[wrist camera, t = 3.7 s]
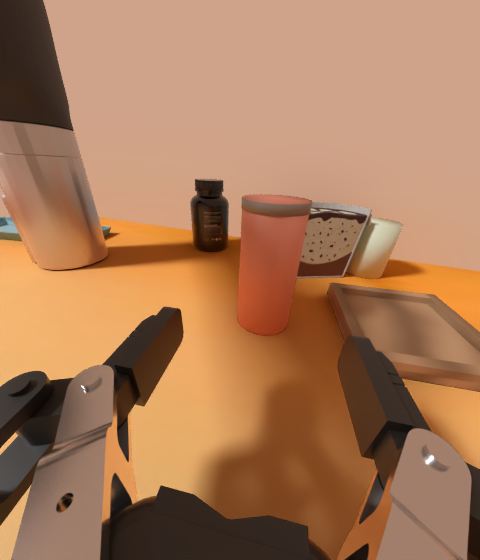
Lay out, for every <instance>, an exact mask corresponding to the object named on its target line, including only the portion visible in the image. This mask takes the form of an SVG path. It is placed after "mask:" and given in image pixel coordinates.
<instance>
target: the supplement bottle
mask: <svg viewBox="0 0 480 560" xmlns="http://www.w3.org/2000/svg"><path fill="white" fill-rule="evenodd" d="M195 191H197V195H196V196H194V197H193V198H192V199H191V215H192V216H191V217H192V232H193V244H194V247H195V248H196V249H198V250H201V251H206V252H215V251H221V250H224V249H225V248H226V247H227V246H228V216H229V215H228V214H229V210H228V209H229V203H228V200H227V199H226V198H225V197H224V196H223V195H222V192H223V180H217V179H195Z"/></svg>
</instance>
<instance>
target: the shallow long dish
mask: <svg viewBox="0 0 480 560" xmlns="http://www.w3.org/2000/svg"><path fill="white" fill-rule="evenodd" d="M101 228H102V232H103V235H104V236H107V235H108V234H109V232H110V229H111V227H106V226H101ZM0 239H5V240H17V241H22V239H21V237H20V235H19V233H18V231H17V229H16V227H15V225H14V223H13V221H12V218H9V217H0Z"/></svg>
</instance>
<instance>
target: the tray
mask: <svg viewBox="0 0 480 560" xmlns="http://www.w3.org/2000/svg"><path fill="white" fill-rule="evenodd" d="M327 294H328V296H329V299H330V302H331V305H332V307H333V310H334V313H335V316H336V318H337V321H338V324H339V327H340V329H341V332H342V335H343V338H344V340H345V341H346V339H347V337H348V336H349V335H353V336H360V337H367V338H369V339H370V340H371V342H372V344H373V346H374V348H375V350H376V351H379V352H382V353H383V354H384V355H385V356H386V357H387V358H388V359H389V360H390V361H391V362H392V363H393V365H394V367H395V368H396V370H397V372H398V374H399V377H401V378H404V379H410V380H416V381H421V382H427V383H433V384H439V385H445V386H450V387H456V388H462V389H468V390H474V391H480V332H479V331H478V330H476V329H475V328H474V327H473V326H472V325H470V324H469V323H468V322H467V321H466V320H464V319H463V318H462V317H461V316H459V315H458V314H457V313H456V312H455V311H453V310H452V309H451V308H450V307H449V306H447V305H446V304H445V303H444V302H443V301H441V300H440V299H439V298H438V297H436V296H435V295H432V294H423V293H415V292H406V291H398V290H389V289H381V288H373V287H364V286H356V285H347V284H339V283H330V285H329V289H328V292H327Z"/></svg>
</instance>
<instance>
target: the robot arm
mask: <svg viewBox="0 0 480 560" xmlns="http://www.w3.org/2000/svg"><path fill="white" fill-rule="evenodd" d="M0 186H1V188H2V190H3V192H4V194H3V195H2V200H3V202H4V204H5V206H6V208H7V210H8V212H9V214H10V216H11V218H12V221H13V223H14V225H15V227H16V229H17V231H18V233H19V235H20V237H21V239H22V241H23V243H24V245H25V247H26V249H27V251H28V253H29V256H30V258H31V260H32V262H37V264H38V266H39V267H41V268H44V269H50V270H62V269H72V268H78V267H83V266H87V265H90V264H93V263H96V262H98V261H101V260H102V259H104V258H105V257H107V256H108V250H107V246H106V242H105V239H104V235H103V232H102V228H101V224H100V221H99V217H98V214H97V211H96V207H95V203H94V200H93V196H92V193H91V189H90V186H89V182H88V179H87V175H86V172H85V168H84V165H83V161H82V158H81V155H80V151H79V148H78V144H77V141H76V137H75V133H74V132H73V127H72V123H71V119H70V113H69V105H68V100H67V96H66V92H65V88H64V84H63V80H62V76H61V72H60V68H59V64H58V60H57V55H56V51H55V47H54V42H53V37H52V33H51V29H50V24H49V21H48V17H47V13H46V9H45V6H44V2H43V0H0ZM182 339H183V324H182V316H181V310H180V309H178V308H171V307H163V308H162V309H161V310H160V311H159V313H158V314H157V315H156V316H155V315H152V316H150V317H148V318H147V319H145V320H144V321H142V322H141V323H140V324H139V325H138V327H137V328H136V329H135V331H133V332H132V333H131V334H130V335H129V337H127V339H126V340H125V341H124V342H123V343H122V344H121V345H120V346H119V347H118V348H117V349H116V351H115V352H114V353H113V354H112V355H111V356H110V357H109V358H108V359H107V360H106V361H105V362H104V363H103V364H102V365H97V366H93V367H90V368H88V369H86V370H84V371H82V372H81V373H79V374H78V375H77V376H76V377H75V378H68V379H59V380H49V378H48V377H47V375H46V374H45V373H44V372H41V371H31V372H27V373H24V374H21V375H19V376H17V377H15V378H13V379H11V380H9V381H8V382H6V383H5V384H3V385H2V386H1V387H0V448H1V447H2V446H3V444H4V443H5V442H6V441H7V440H8V439H9V438H10V437H11V436H12V435H13V434H14V433H15V432H16V433H17V434H18V435H19V436H18V437H17V438H16V439H15V440H14V441H13V442H12V443H11V444H10V445H9V446H8V447H7V449H6V450H5V451H4V452H3V453H2V454H1V455H0V525H1V524H2V523H3V521H4V520H5V519H6V517H7V516H8V515H9V513H10V512H11V511H12V509H13V508H14V507H15V505H16V504H17V503H18V501H19V500H20V499H21V497H22V496H23V495H24V493H25V492H26V491H27V489H28V488H29V487H30V485H31V484H32V485H31V488H30V492H29V496H28V499H27V503H26V507H25V510H24V514H23V518H22V521H21V525H20V529H19V532H18V536H17V540H16V543H15V547H14V551H13V554H12V558H11V560H331V559H330V558H329V557H328V556H327V555H326V553H325V552H324V551H323V550H322V549H320V548H319V547H318V546H317V545H316V544H315V543H314V542H312V541H311V540H309V538H308V526H304V525H301V524H297V523H294V522H290V521H287V520H283V519H279V518H276V517H272V516H260V517H251V518H242V519H233V520H230V519H227V518H225V517H223V516H222V515H221V514H219V513H218V512H217V511H215V510H214V509H213V508H211V507H210V506H209V505H207V504H206V503H205V502H203V501H202V500H201V499H199V498H198V497H197V496H195V495H193V494H190V493H186V492H183V491H179V490H176V489H172V488H168V487H165V486H160V489H159V491H158V494H157V496H152V497H149V498H145V499H142V500H140V501H138V502H137V491H136V482H135V476H134V472H133V465H132V444H131V420H130V411H131V410H132V408H133V406H134V405H135V404H136V405H140V406H145V404H146V403H147V401H148V399H149V397H150V396H151V394H152V392H153V391H154V389H155V387H156V385H157V384H158V382H159V380H160V378H161V377H162V375H163V373H164V372H165V370H166V368H167V366H168V365H169V363H170V361H171V360H172V358H173V356H174V354H175V353H176V351H177V349H178V347H179V346H180V344H181V342H182ZM338 372H339V376H340V380H341V383H342V387H343V391H344V394H345V398H346V401H347V405H348V409H349V412H350V416H351V420H352V423H353V427H354V431H355V434H356V438H357V441H358V445H359V449H360V452H361V456H362V457H366V458H370V459H374V461H375V464H376V467H377V470H376V471H375V473H374V475H373V478H372V481H371V483H370V486H369V488H368V491H367V493H366V496H365V498H364V501H363V504H362V506H361V509H360V511H359V514H358V516H357V519H356V521H355V524H354V526H353V528H352V530H351V532H350V533H349V535H348V537H347V538H346V540H345V542H344V544H343V546H342V548H341V551H340V553H339V555H338V558H337V560H480V469H478V468H476V467H474V466H472V465H470V464H468V463H466V462H465V461H464V460H463V458H462V457H461V456H460V454H459V453H458V452H457V451H456V450H455V449H454V448H453V447H452V446H451V445H450V444H449V443H448V442H446V441H445V440H444V439H442V438H441V437H440V436H438V435H436V434H434V433H432V432H431V430H430V428H429V427H428V425H427V423H426V421H425V420H424V418H423V416H422V414H421V413H420V411H419V409H418V407H417V405H416V404H415V402H414V400H413V398H412V397H411V395H410V393H409V391H408V390H407V388H406V387H405V384H404V382H403V381H402V379H401V377H399V374H398V372H397V370H396V368H395V367H394V365H393V363H392V362H391V361H390V360H389V359H388V358H387V357H386V356H385V355H384V354H383V353H382V352H379V351H376V350H375V348H374V346H373V344H372V342H371V340H370V339H369V338H367V337H360V336H353V335H349V336H348V337H347V339H346V341H345V344H344V346H343V349H342V351H341V354H340V356H339V359H338Z"/></svg>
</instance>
